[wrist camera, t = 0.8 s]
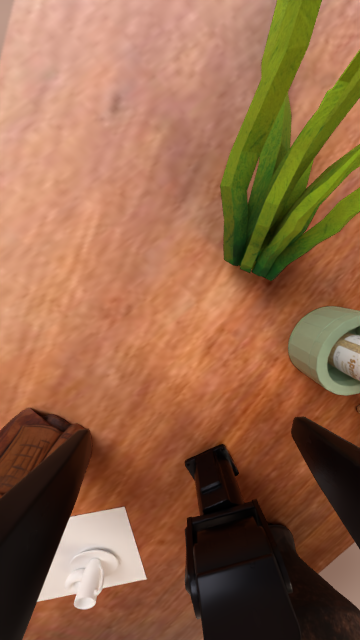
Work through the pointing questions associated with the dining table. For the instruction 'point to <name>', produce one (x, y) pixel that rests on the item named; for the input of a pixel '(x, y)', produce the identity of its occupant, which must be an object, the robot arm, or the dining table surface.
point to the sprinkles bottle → (346, 355)
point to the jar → (324, 346)
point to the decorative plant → (286, 157)
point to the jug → (315, 597)
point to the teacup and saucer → (93, 557)
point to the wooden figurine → (29, 444)
